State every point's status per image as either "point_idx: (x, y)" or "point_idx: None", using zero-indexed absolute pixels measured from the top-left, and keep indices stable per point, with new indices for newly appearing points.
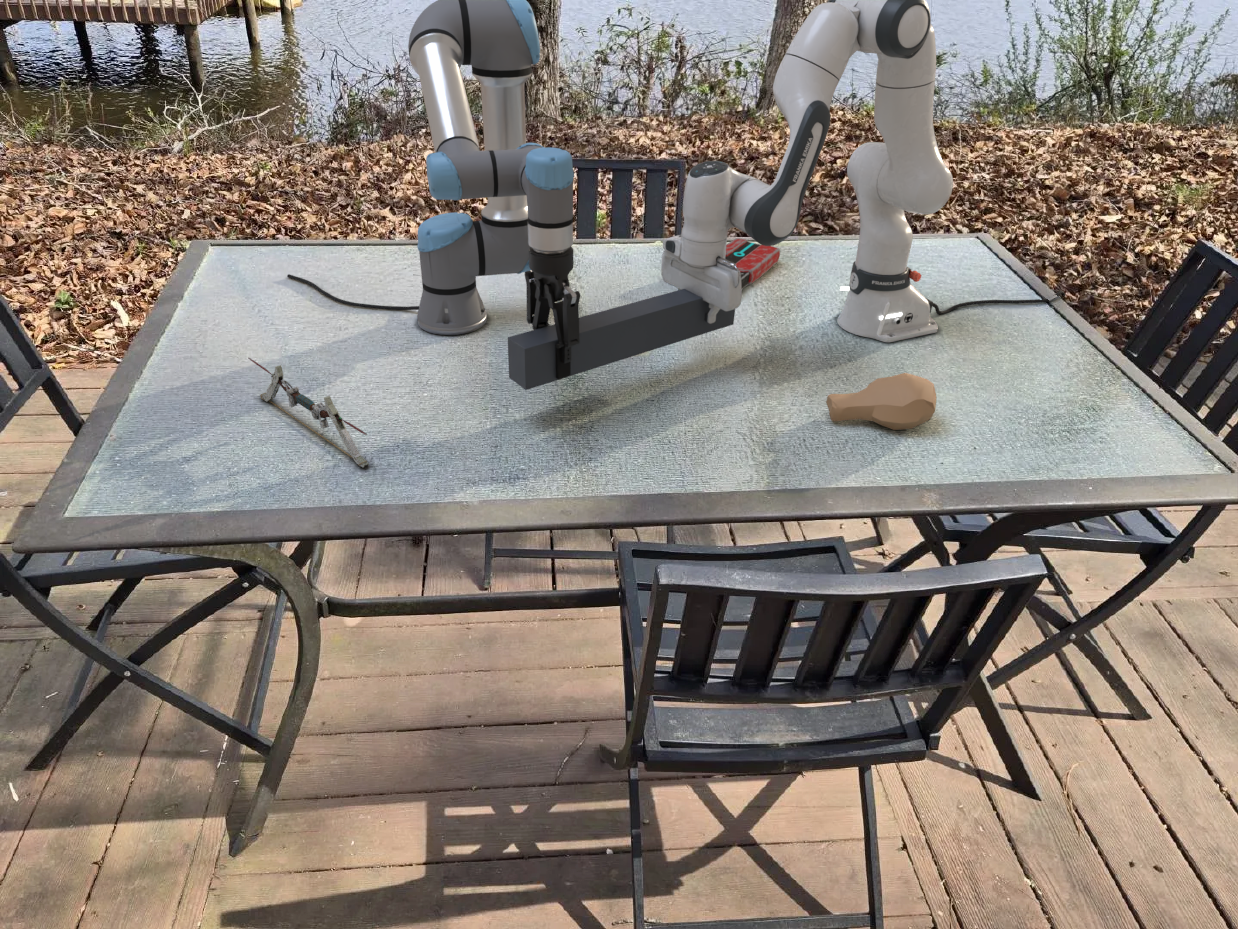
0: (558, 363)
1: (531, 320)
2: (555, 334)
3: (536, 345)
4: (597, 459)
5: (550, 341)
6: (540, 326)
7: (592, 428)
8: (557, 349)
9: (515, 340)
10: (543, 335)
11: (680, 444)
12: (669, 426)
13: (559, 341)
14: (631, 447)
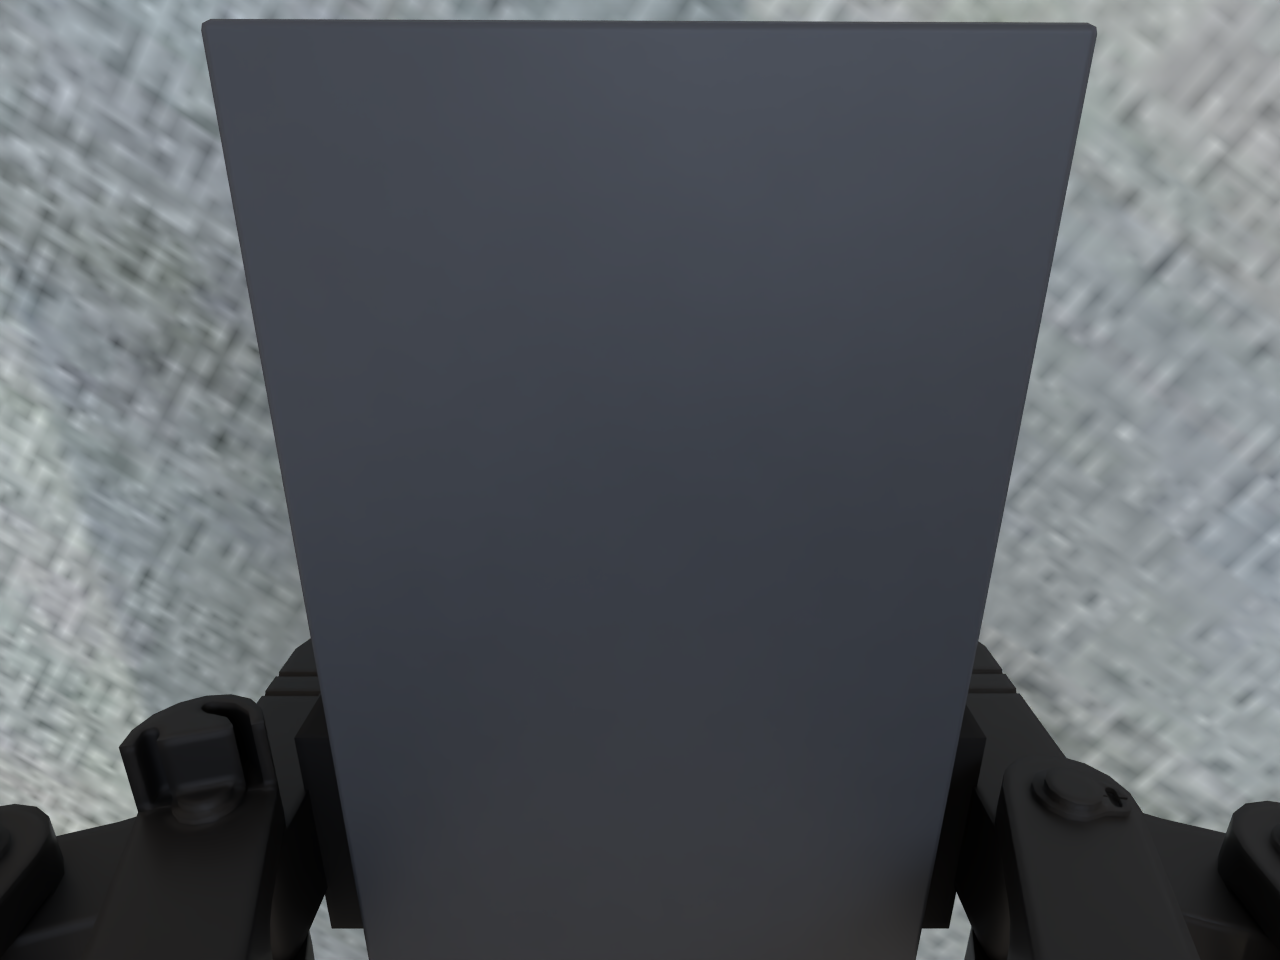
0: None
1: (1254, 891)
2: (551, 910)
3: (277, 398)
4: (15, 319)
5: (330, 717)
6: (1002, 886)
7: None
8: None
9: (790, 104)
10: (636, 749)
11: (2, 749)
12: None
13: (209, 828)
14: (68, 550)
